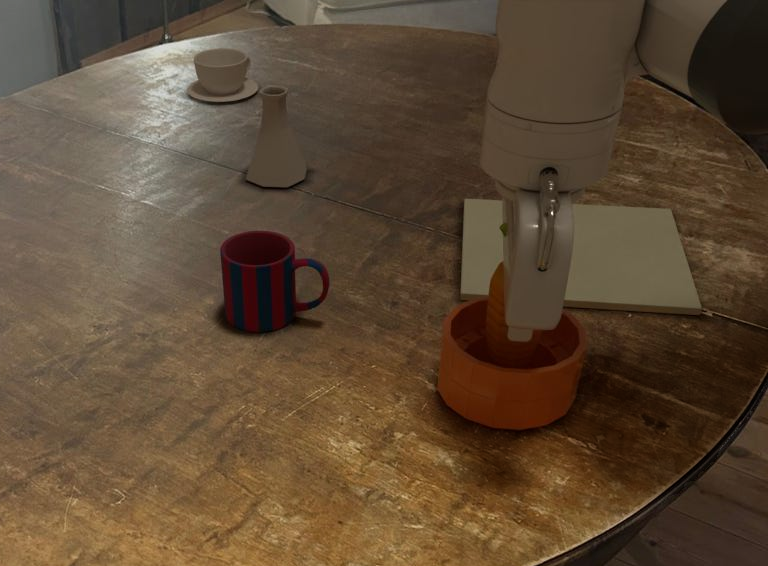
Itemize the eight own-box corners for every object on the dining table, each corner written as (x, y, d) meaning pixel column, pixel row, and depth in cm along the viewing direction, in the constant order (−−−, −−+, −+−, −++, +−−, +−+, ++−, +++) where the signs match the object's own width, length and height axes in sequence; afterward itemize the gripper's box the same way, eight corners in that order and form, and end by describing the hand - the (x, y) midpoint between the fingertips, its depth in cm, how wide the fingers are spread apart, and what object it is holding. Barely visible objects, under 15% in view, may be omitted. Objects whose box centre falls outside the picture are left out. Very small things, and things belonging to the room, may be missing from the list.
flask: (316, 168, 111) (316, 83, 104) (291, 194, 106) (289, 106, 99) (262, 159, 113) (259, 75, 106) (235, 183, 108) (229, 96, 102)
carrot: (462, 386, 78) (484, 221, 68) (500, 362, 80) (526, 199, 70) (510, 412, 75) (540, 245, 65) (547, 387, 77) (581, 221, 67)
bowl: (568, 358, 81) (581, 298, 77) (577, 439, 73) (592, 378, 69) (439, 349, 83) (446, 290, 79) (434, 428, 75) (441, 367, 71)
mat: (669, 215, 100) (671, 208, 100) (699, 315, 86) (702, 308, 85) (463, 204, 103) (464, 198, 103) (459, 300, 89) (460, 293, 88)
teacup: (217, 111, 125) (215, 75, 122) (173, 92, 130) (169, 57, 127) (273, 91, 130) (272, 56, 126) (227, 73, 135) (225, 40, 132)
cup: (245, 288, 91) (241, 224, 86) (339, 310, 88) (340, 245, 83) (212, 323, 87) (206, 257, 82) (310, 347, 83) (309, 280, 79)
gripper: (608, 213, 55) (566, 397, 65) (583, 89, 70) (552, 252, 80) (501, 208, 56) (475, 390, 66) (498, 86, 71) (477, 248, 81)
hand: (517, 313), depth 73 cm, fingers closed on carrot, 5 cm apart
